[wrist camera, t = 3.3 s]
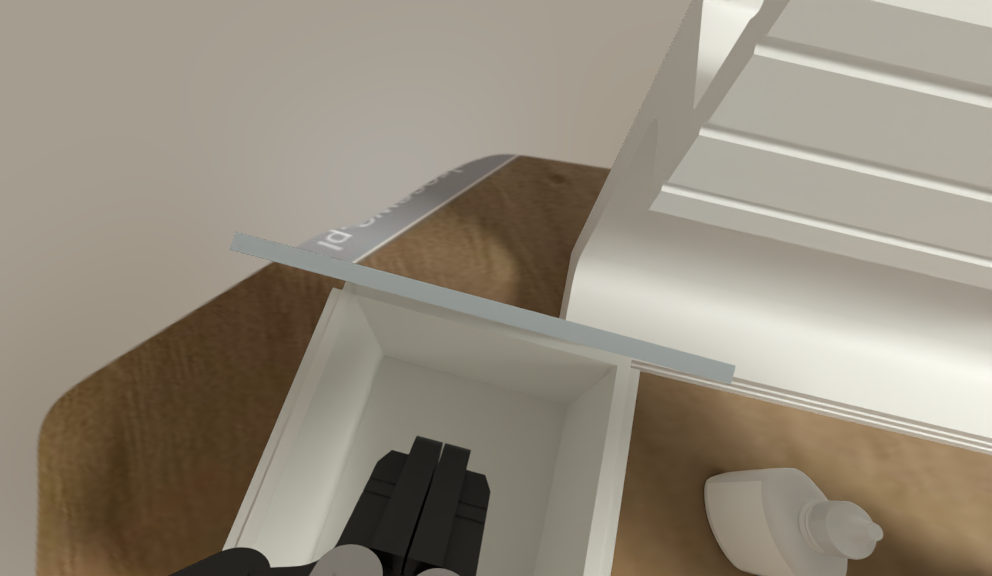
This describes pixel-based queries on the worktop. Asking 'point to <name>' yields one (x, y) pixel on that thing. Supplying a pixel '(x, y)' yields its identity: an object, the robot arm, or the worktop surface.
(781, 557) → the eye dropper bottle
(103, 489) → the worktop surface
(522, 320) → the carton flap
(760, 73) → the white magazine holder
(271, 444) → the carton
